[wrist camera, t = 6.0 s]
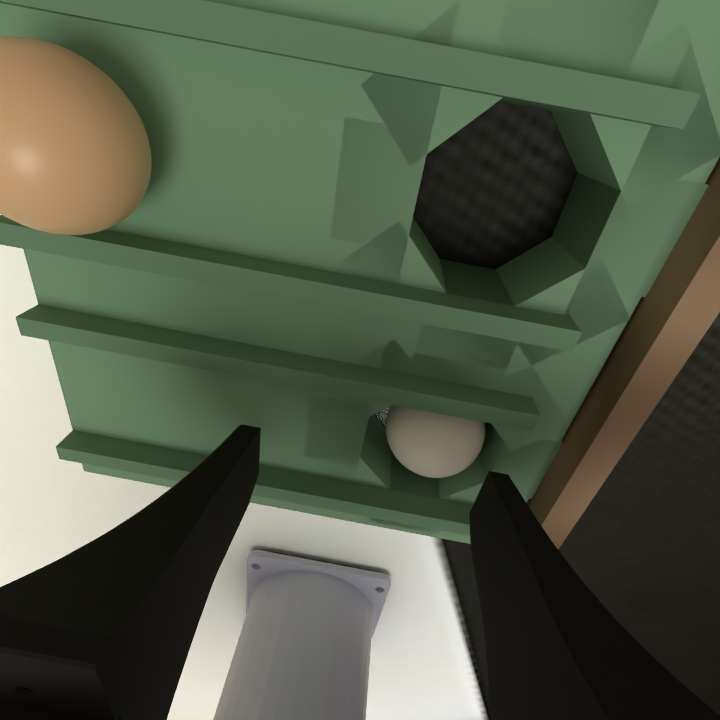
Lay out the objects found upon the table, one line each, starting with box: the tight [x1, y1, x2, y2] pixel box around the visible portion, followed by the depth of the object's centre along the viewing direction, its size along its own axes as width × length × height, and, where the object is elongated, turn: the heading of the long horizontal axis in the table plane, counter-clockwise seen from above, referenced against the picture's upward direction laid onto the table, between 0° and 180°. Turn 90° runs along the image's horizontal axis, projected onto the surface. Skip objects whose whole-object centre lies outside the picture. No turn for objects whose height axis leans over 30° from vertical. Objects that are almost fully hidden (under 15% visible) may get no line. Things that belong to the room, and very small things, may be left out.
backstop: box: [527, 157, 720, 549], centre depth 13 cm, size 17×1×4 cm, turn 171°
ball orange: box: [0, 36, 152, 235], centre depth 9 cm, size 4×4×4 cm
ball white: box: [386, 405, 485, 478], centre depth 16 cm, size 4×4×4 cm
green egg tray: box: [0, 0, 720, 544], centre depth 13 cm, size 17×17×4 cm
